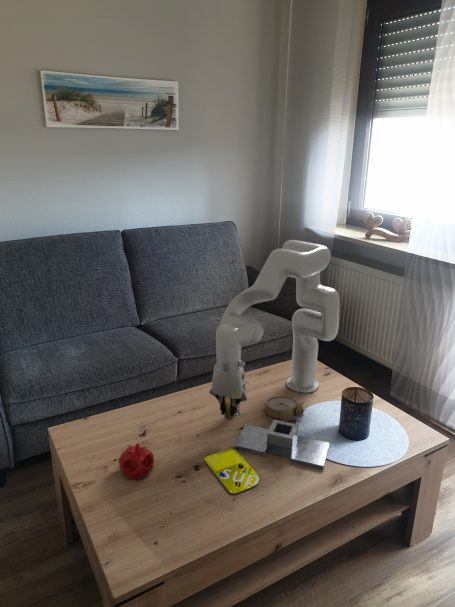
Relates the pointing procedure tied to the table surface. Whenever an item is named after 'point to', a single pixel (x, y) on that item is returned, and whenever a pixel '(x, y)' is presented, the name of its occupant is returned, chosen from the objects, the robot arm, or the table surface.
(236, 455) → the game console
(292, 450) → the hinge frame
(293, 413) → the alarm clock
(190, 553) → the table surface
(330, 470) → the table surface
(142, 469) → the pomegranate
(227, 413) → the hinge pin
